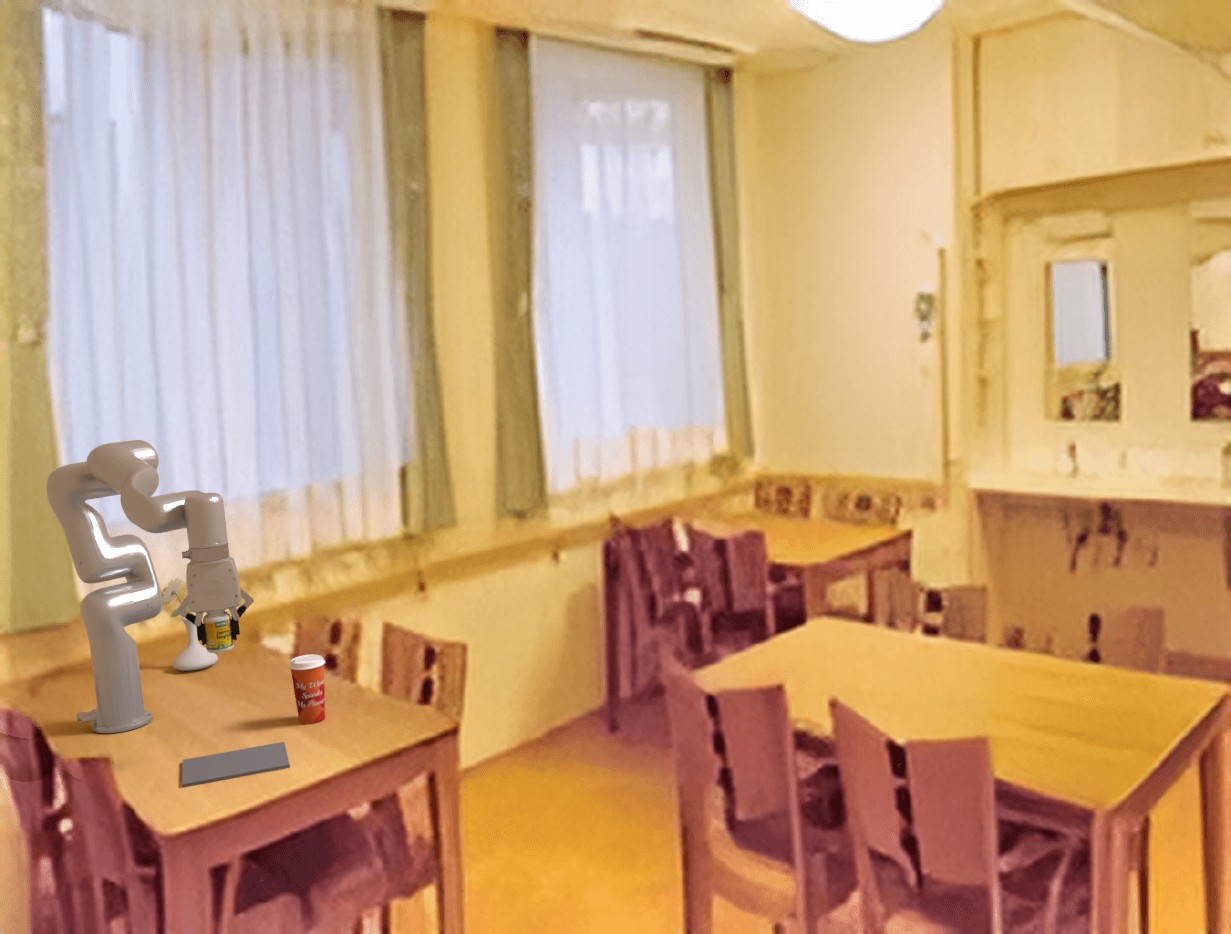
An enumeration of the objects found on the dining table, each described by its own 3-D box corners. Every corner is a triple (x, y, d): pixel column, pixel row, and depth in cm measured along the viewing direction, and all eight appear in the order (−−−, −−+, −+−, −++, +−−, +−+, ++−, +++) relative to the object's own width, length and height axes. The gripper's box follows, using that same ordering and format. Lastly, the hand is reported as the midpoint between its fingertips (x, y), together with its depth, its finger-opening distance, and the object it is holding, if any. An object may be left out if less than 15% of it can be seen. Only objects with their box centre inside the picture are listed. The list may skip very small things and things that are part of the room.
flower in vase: (202, 659, 304) (192, 568, 301) (227, 664, 297) (217, 572, 294) (158, 672, 294) (147, 579, 291) (183, 678, 287) (173, 583, 284)
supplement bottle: (222, 645, 233) (217, 600, 232) (239, 647, 230) (234, 601, 229) (200, 652, 229) (195, 606, 228) (218, 654, 226) (212, 608, 225)
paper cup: (298, 728, 244) (292, 666, 242) (291, 718, 251) (285, 658, 249) (334, 720, 248) (328, 659, 246) (326, 711, 254) (320, 651, 253)
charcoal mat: (182, 787, 215) (181, 784, 215) (182, 762, 228) (182, 759, 228) (289, 767, 222) (289, 764, 221) (284, 744, 235) (284, 741, 235)
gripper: (164, 563, 221) (174, 652, 223) (254, 551, 227) (264, 638, 229) (164, 557, 228) (174, 643, 230) (252, 545, 234) (261, 630, 236)
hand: (219, 640), depth 229 cm, fingers closed on supplement bottle, 5 cm apart
